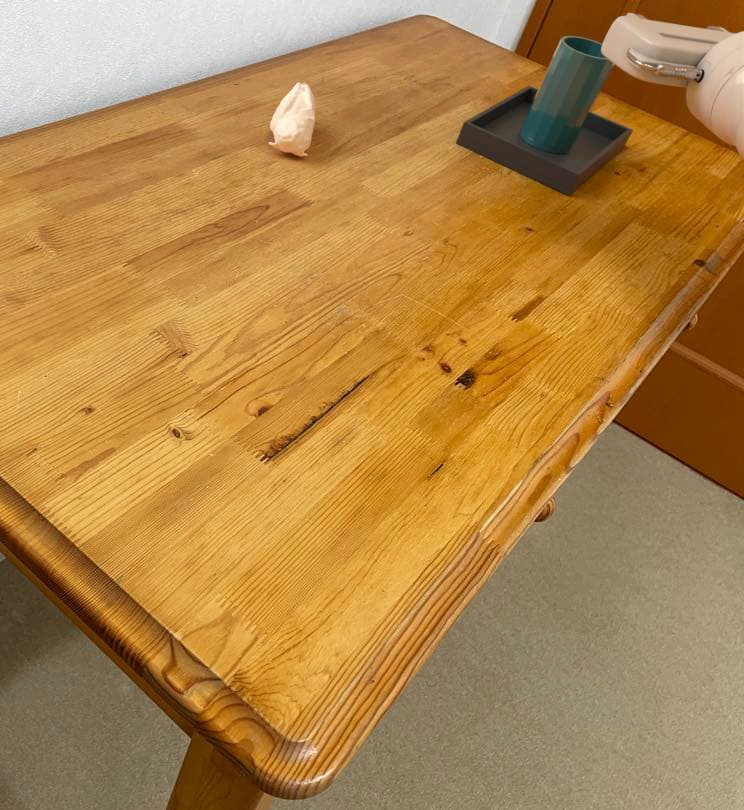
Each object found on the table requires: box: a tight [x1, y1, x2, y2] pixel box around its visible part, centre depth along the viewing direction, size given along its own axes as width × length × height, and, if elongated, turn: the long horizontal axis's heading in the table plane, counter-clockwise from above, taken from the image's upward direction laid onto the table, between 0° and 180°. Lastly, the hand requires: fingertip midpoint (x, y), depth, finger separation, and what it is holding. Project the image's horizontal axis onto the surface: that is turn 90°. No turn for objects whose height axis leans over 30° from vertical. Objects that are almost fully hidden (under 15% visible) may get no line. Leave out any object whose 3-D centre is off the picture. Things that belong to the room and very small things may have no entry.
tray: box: [455, 85, 634, 196], centre depth 109 cm, size 21×15×3 cm
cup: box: [519, 35, 616, 154], centre depth 105 cm, size 7×7×12 cm
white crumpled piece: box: [268, 81, 316, 157], centre depth 96 cm, size 5×7×10 cm
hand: (669, 27), depth 88 cm, fingers open, 8 cm apart
